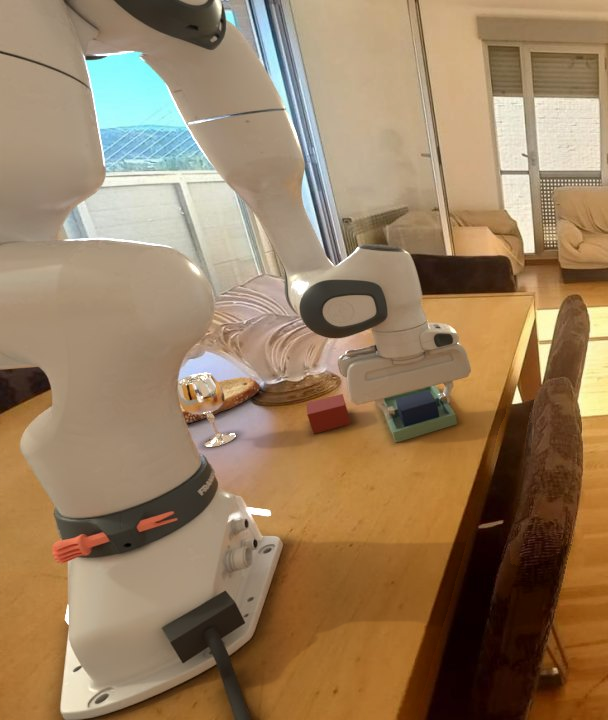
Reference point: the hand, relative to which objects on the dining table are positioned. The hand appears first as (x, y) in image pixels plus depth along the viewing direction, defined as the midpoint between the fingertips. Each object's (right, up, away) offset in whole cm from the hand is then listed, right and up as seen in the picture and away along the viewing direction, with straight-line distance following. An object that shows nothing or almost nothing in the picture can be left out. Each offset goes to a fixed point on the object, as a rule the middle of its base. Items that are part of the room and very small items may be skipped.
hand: (419, 410), depth 86 cm
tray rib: (-2, -1, +4) cm, 5 cm away
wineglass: (-34, -5, -3) cm, 35 cm away
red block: (-17, -3, +2) cm, 18 cm away
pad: (0, -2, +1) cm, 2 cm away
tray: (-2, -1, +4) cm, 5 cm away
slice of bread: (-48, -1, +9) cm, 49 cm away
